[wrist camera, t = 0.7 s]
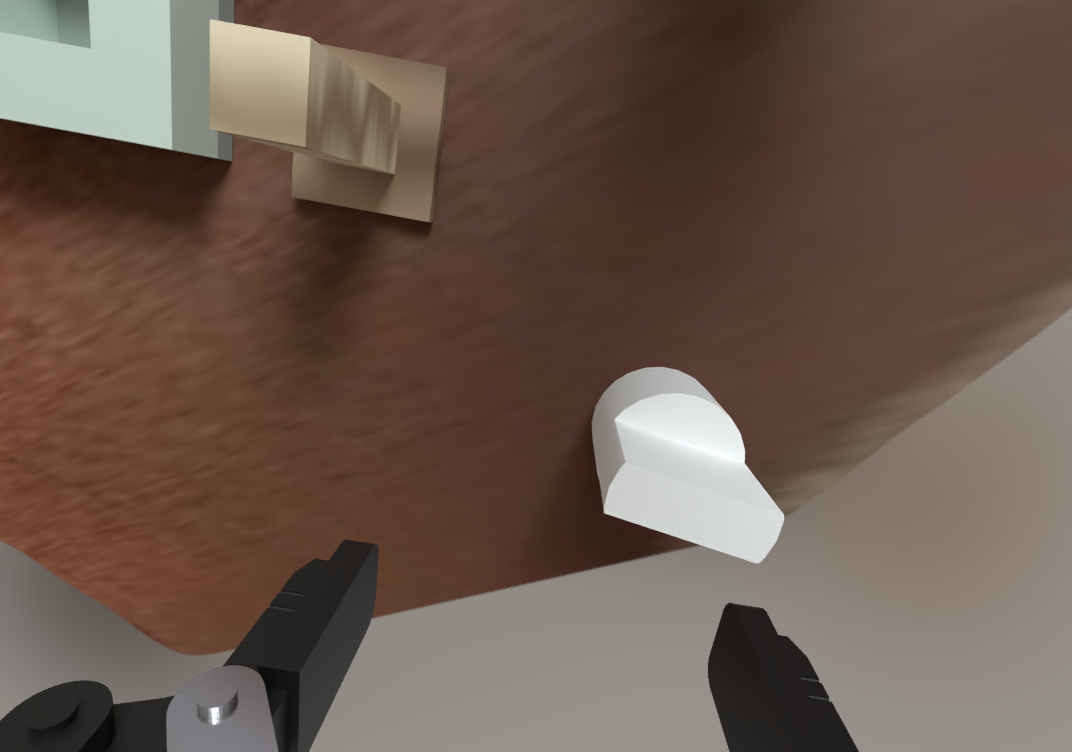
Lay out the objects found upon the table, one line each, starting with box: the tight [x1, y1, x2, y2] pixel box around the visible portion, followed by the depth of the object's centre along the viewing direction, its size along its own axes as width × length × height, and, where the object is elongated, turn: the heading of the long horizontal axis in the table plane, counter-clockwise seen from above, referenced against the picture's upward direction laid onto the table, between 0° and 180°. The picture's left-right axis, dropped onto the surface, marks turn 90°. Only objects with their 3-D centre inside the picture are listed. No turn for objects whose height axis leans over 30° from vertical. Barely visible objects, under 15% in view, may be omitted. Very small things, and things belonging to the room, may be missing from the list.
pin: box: [210, 19, 401, 174], centre depth 27 cm, size 4×4×12 cm
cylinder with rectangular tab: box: [592, 367, 784, 564], centre depth 32 cm, size 9×9×12 cm
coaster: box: [291, 44, 450, 222], centre depth 33 cm, size 9×9×1 cm
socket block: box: [0, 0, 234, 161], centre depth 30 cm, size 14×14×6 cm
